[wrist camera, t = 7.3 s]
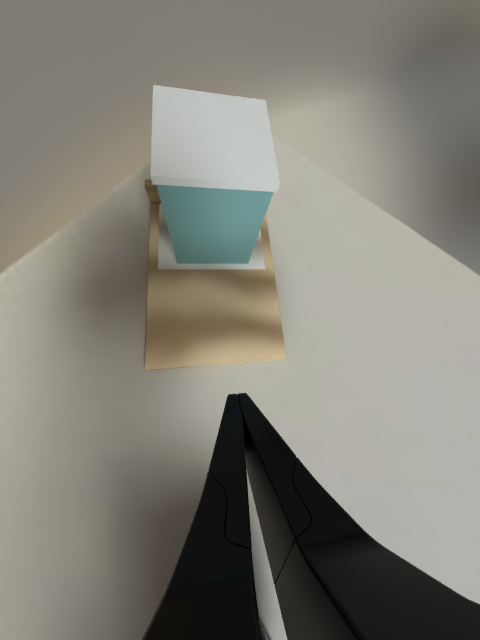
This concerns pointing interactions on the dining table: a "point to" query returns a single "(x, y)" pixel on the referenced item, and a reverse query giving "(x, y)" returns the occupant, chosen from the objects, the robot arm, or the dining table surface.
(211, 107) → the tin
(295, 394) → the dining table surface
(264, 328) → the plinth board
